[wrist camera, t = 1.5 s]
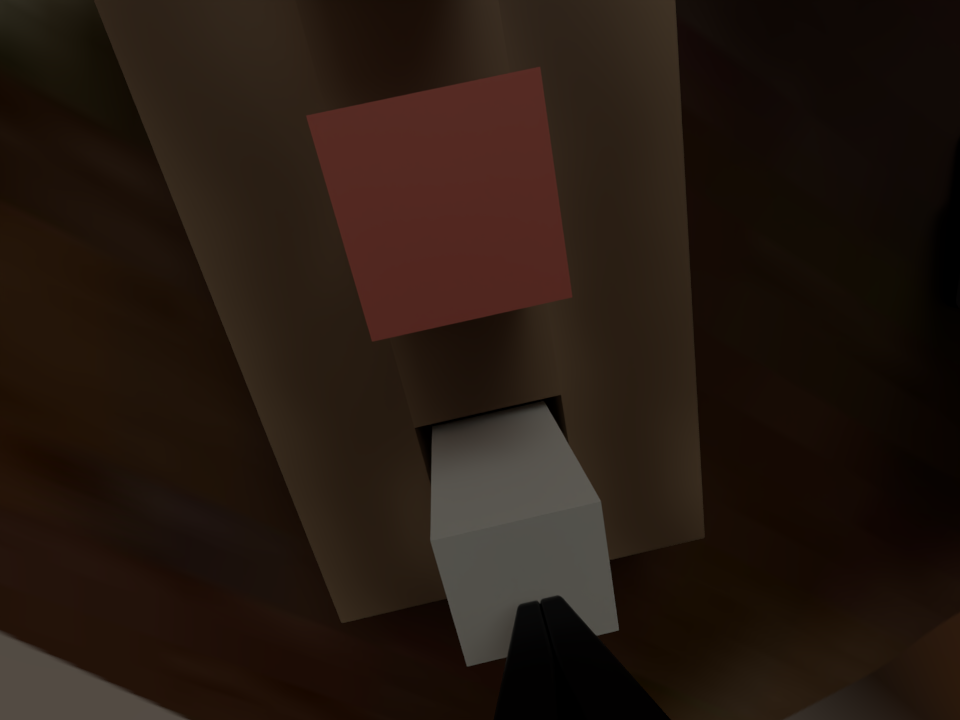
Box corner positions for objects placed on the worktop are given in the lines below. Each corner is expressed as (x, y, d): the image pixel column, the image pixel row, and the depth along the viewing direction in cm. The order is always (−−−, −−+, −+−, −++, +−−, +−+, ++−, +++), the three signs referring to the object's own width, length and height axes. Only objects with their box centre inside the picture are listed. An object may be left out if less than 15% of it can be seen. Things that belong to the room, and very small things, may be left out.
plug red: (496, 126, 11) (540, 65, 7) (520, 264, 12) (572, 296, 8) (360, 155, 11) (305, 115, 7) (396, 291, 12) (372, 341, 8)
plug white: (543, 400, 14) (601, 501, 9) (560, 495, 15) (619, 630, 10) (431, 426, 14) (430, 541, 9) (456, 520, 15) (467, 666, 10)
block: (574, -318, 11) (643, -579, 8) (650, 471, 19) (704, 537, 15) (91, -226, 11) (-86, -451, 7) (360, 538, 19) (341, 623, 15)
